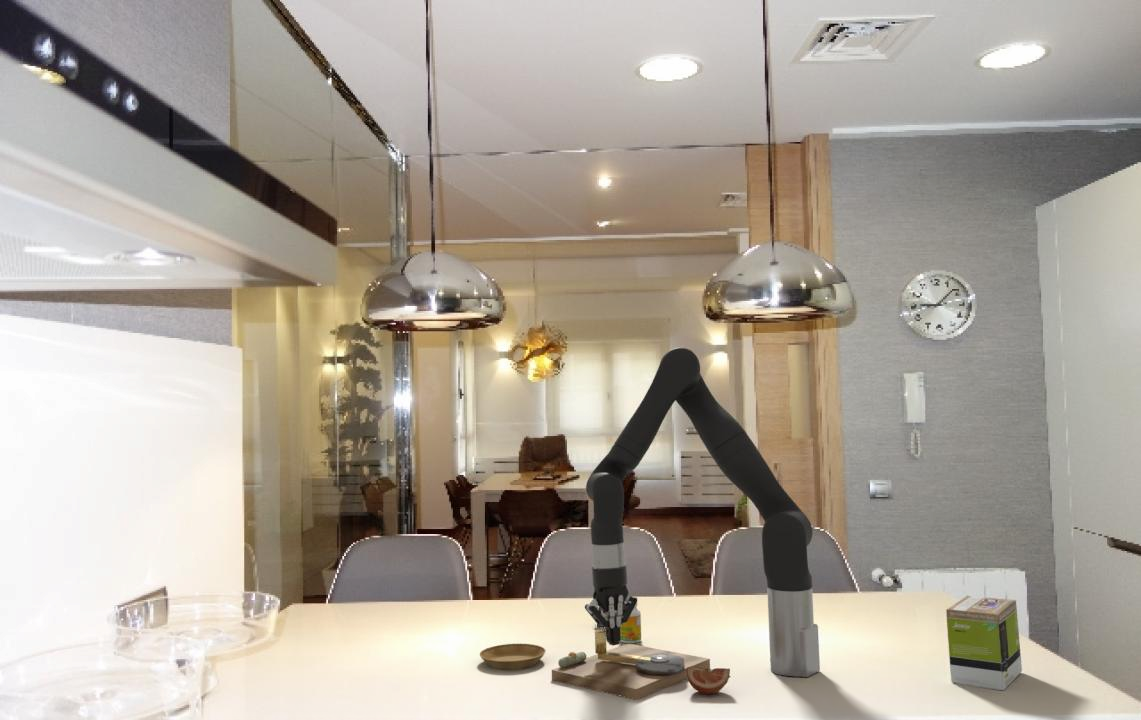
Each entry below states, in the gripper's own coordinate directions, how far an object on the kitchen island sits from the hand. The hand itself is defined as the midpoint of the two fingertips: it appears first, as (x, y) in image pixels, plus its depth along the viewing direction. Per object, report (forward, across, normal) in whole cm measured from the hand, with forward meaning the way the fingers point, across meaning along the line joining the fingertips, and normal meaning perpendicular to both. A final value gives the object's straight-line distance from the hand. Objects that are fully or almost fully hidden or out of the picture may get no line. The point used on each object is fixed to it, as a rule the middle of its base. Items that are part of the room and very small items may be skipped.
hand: (613, 644), depth 191 cm
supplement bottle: (+5, -16, -16) cm, 23 cm away
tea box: (+7, -55, +51) cm, 75 cm away
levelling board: (+5, 0, +6) cm, 8 cm away
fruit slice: (+6, -4, +26) cm, 27 cm away
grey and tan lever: (+3, 0, +8) cm, 9 cm away
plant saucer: (+5, +16, -17) cm, 24 cm away
